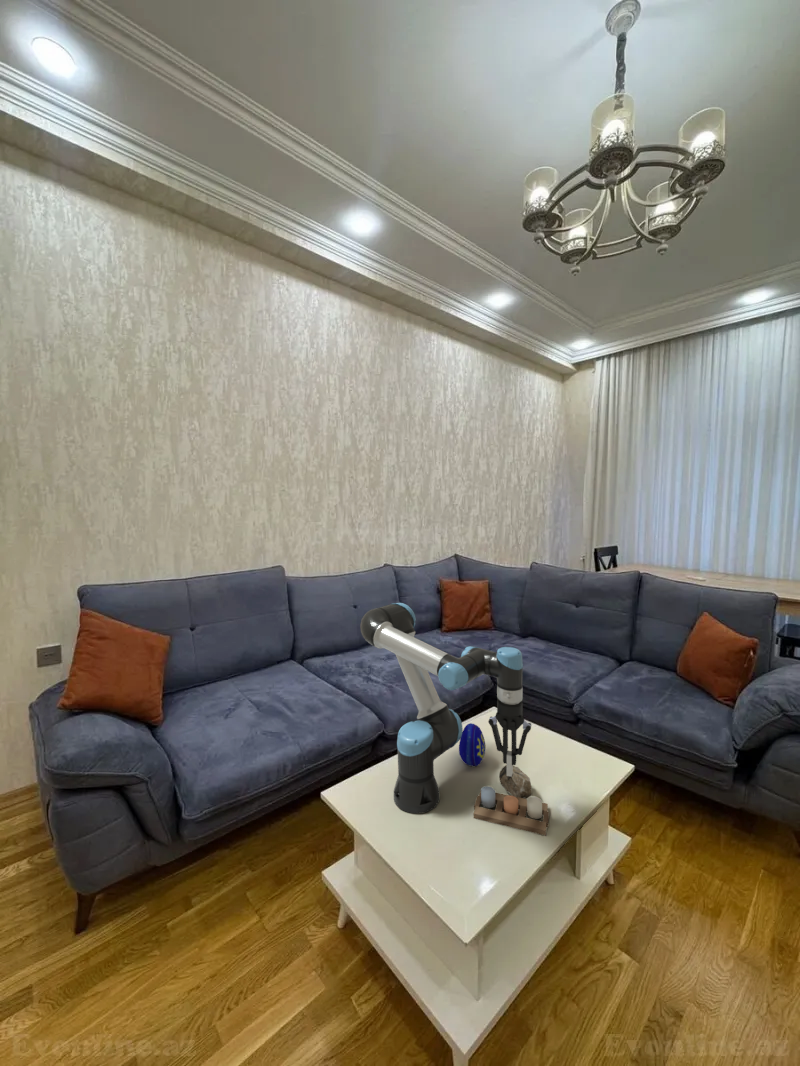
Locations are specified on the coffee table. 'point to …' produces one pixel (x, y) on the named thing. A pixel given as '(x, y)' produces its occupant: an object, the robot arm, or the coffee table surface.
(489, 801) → the button slate
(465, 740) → the ornament
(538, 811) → the button cream
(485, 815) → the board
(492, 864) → the coffee table surface
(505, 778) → the stone
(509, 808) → the button terracotta
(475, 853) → the coffee table surface
